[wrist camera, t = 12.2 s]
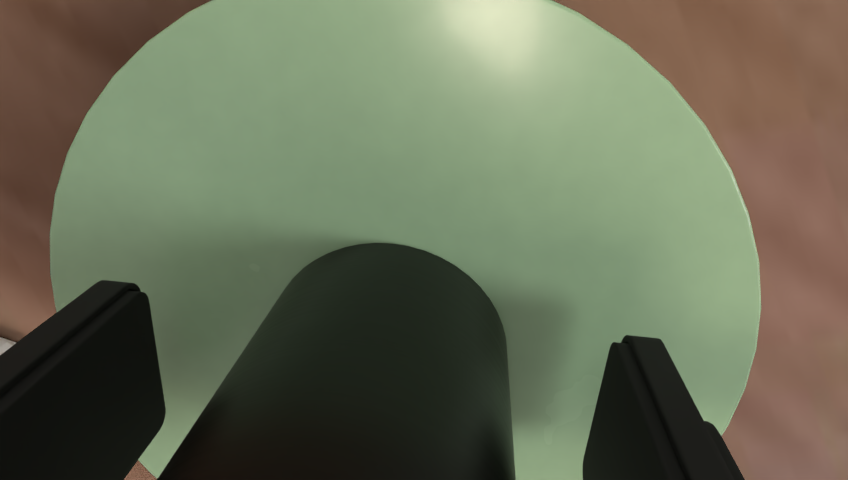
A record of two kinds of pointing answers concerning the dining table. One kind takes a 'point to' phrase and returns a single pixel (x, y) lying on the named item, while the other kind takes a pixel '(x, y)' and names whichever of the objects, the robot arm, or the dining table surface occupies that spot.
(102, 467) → the robot arm
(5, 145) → the dining table surface
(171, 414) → the lid
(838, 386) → the dining table surface
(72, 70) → the dining table surface
